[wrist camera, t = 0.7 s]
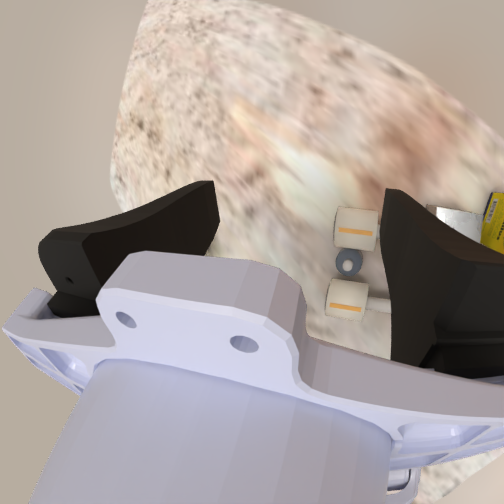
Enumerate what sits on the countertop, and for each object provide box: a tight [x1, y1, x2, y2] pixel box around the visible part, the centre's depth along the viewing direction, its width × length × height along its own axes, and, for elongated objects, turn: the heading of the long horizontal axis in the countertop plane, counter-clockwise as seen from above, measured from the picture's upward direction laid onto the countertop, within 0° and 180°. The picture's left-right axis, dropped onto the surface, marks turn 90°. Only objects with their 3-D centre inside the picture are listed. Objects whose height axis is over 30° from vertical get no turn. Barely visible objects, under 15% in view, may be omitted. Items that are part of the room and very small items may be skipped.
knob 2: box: [325, 278, 391, 322], centre depth 28 cm, size 4×10×4 cm, turn 87°
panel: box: [426, 205, 483, 243], centre depth 25 cm, size 14×5×6 cm, turn 178°
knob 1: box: [334, 207, 380, 252], centre depth 26 cm, size 4×10×4 cm, turn 87°
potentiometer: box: [336, 248, 363, 276], centre depth 29 cm, size 4×3×4 cm
